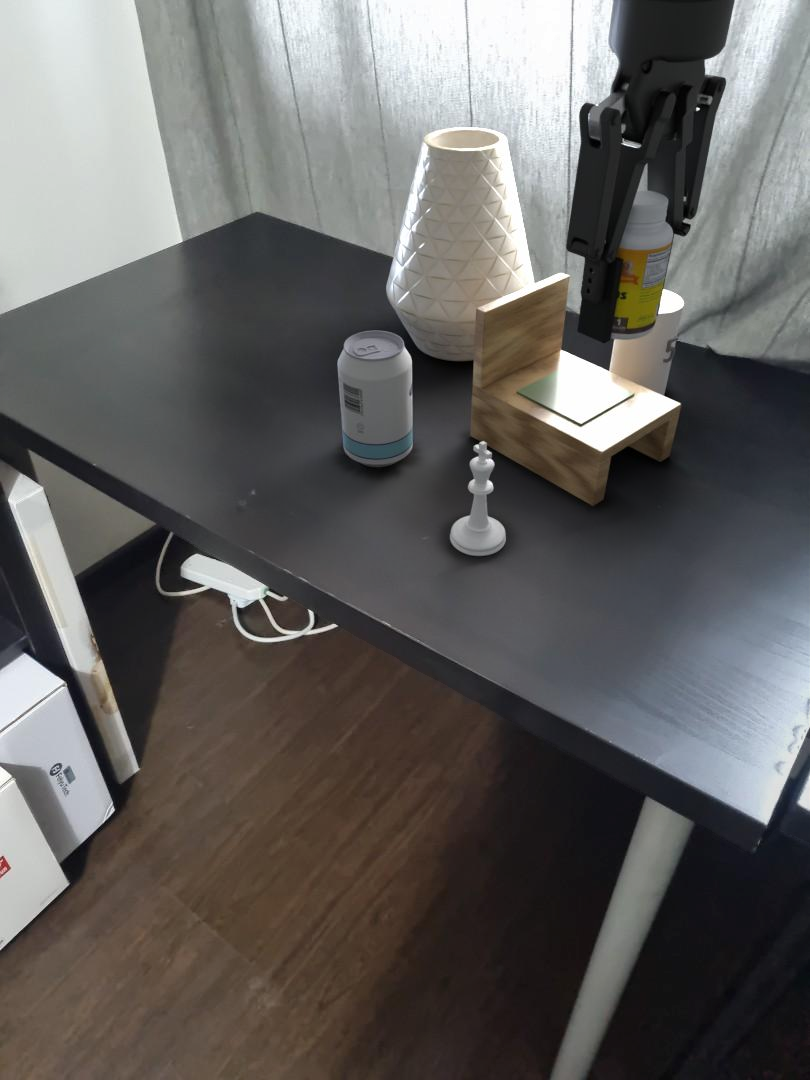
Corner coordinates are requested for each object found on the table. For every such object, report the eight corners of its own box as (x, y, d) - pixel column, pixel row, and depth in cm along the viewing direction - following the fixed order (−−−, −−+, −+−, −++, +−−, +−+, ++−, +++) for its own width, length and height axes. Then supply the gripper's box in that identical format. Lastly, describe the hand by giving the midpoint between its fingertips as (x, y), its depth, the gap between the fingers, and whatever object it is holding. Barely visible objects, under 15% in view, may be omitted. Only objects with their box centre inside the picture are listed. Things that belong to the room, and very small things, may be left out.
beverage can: (423, 463, 82) (423, 353, 74) (357, 480, 80) (350, 368, 72) (398, 428, 86) (395, 322, 79) (335, 443, 85) (326, 335, 77)
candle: (643, 411, 88) (670, 276, 79) (594, 389, 92) (615, 256, 82) (677, 391, 91) (708, 258, 82) (629, 370, 95) (652, 240, 85)
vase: (478, 298, 110) (486, 109, 95) (559, 351, 99) (583, 145, 84) (363, 329, 104) (352, 132, 89) (435, 390, 92) (437, 174, 77)
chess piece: (478, 513, 76) (484, 419, 69) (517, 539, 73) (526, 444, 66) (438, 535, 73) (439, 441, 67) (476, 564, 70) (482, 468, 64)
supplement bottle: (570, 322, 68) (586, 194, 61) (621, 306, 70) (642, 180, 63) (617, 349, 64) (639, 216, 57) (669, 331, 66) (696, 201, 60)
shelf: (669, 455, 82) (700, 324, 73) (592, 506, 76) (615, 370, 67) (547, 395, 91) (560, 272, 82) (470, 435, 85) (475, 308, 76)
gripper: (707, -39, 58) (648, 277, 74) (531, -9, 49) (505, 344, 65) (807, -29, 54) (722, 304, 69) (634, 5, 45) (580, 380, 60)
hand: (618, 323), depth 67 cm, fingers closed on supplement bottle, 6 cm apart
